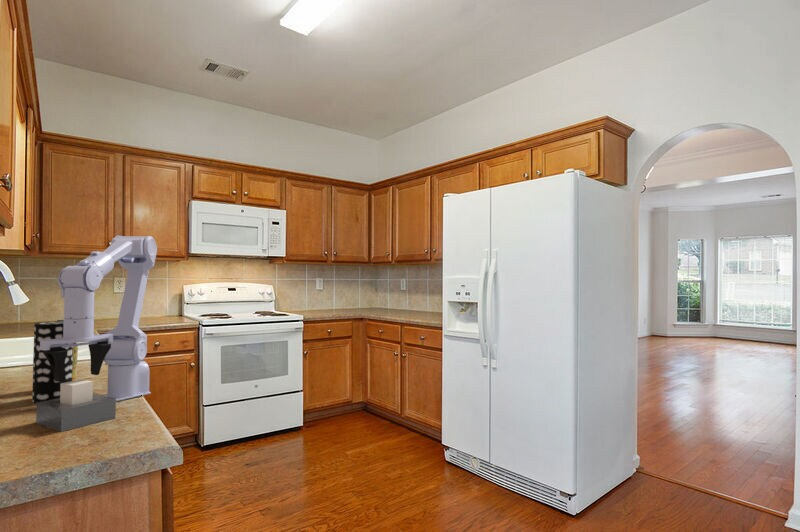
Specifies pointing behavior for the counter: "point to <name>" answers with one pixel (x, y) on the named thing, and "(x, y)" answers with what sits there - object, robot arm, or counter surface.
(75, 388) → the ivory block
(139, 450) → the counter surface
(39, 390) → the spotted tube
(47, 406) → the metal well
